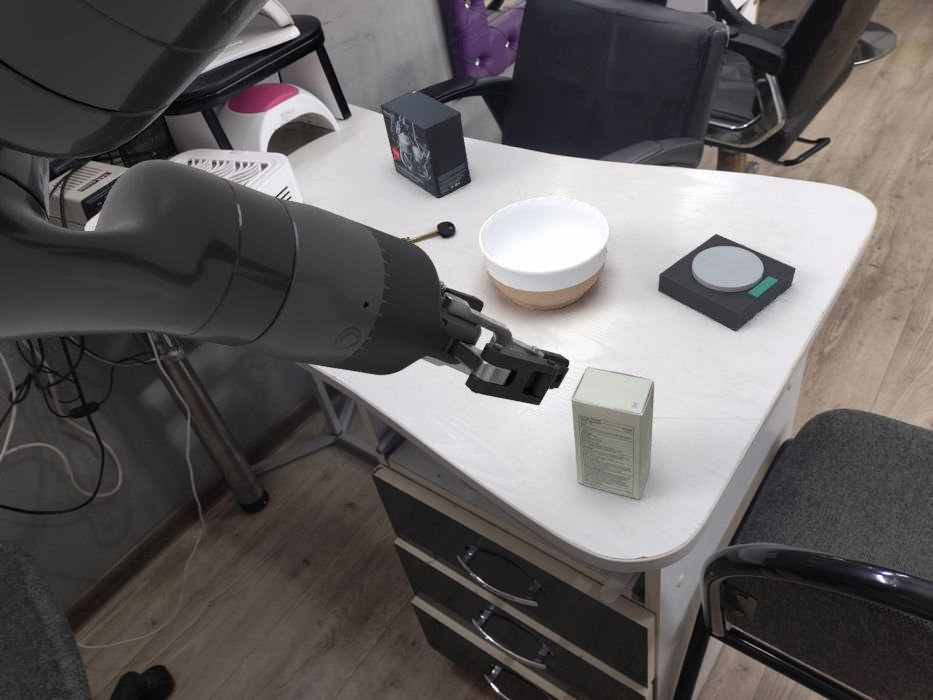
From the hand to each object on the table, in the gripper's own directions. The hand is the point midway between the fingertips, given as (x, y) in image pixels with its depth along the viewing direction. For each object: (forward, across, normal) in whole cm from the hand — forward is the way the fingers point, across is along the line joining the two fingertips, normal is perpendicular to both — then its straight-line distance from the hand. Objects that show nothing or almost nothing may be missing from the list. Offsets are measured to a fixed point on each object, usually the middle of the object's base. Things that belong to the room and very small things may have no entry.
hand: (515, 341), depth 46 cm
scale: (+45, +8, -11) cm, 47 cm away
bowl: (+35, +25, -1) cm, 43 cm away
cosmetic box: (+24, -1, +10) cm, 26 cm away
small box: (+40, +59, -6) cm, 72 cm away
